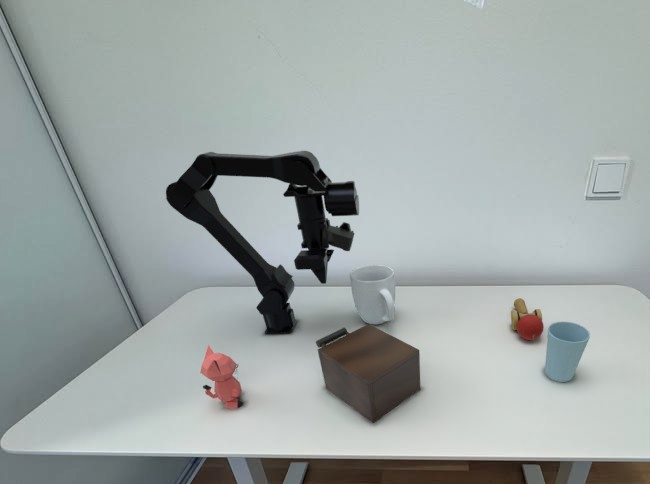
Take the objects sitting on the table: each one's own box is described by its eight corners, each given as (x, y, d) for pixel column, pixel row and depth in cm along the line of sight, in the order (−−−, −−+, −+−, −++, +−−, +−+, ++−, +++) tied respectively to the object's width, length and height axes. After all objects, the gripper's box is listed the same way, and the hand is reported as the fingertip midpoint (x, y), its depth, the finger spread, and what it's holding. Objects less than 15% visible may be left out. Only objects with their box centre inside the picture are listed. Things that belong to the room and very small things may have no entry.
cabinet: (325, 388, 75) (317, 349, 70) (372, 360, 83) (368, 323, 77) (373, 423, 67) (367, 382, 61) (420, 389, 74) (419, 349, 69)
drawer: (312, 372, 78) (305, 341, 74) (354, 349, 85) (350, 319, 81) (366, 412, 68) (362, 378, 63) (410, 382, 75) (408, 350, 70)
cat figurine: (253, 405, 71) (235, 355, 65) (215, 420, 68) (191, 368, 62) (245, 386, 76) (227, 337, 70) (209, 398, 73) (187, 348, 67)
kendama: (500, 312, 102) (511, 340, 85) (507, 290, 99) (519, 315, 83) (528, 317, 102) (544, 346, 86) (535, 296, 99) (553, 321, 83)
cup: (575, 390, 73) (587, 346, 67) (536, 379, 76) (544, 336, 70) (580, 368, 78) (592, 326, 72) (543, 359, 81) (551, 318, 75)
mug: (413, 327, 94) (411, 279, 87) (374, 341, 89) (369, 291, 82) (384, 304, 105) (380, 260, 97) (348, 316, 100) (342, 270, 92)
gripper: (343, 228, 73) (352, 299, 81) (354, 205, 88) (361, 267, 97) (286, 230, 73) (302, 301, 81) (307, 206, 88) (318, 268, 97)
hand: (323, 283), depth 89 cm, fingers closed
